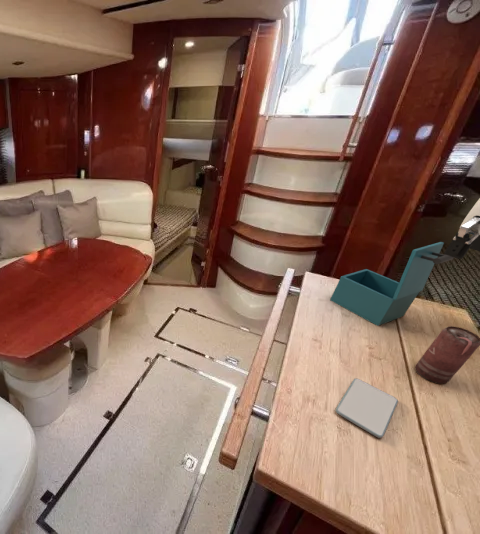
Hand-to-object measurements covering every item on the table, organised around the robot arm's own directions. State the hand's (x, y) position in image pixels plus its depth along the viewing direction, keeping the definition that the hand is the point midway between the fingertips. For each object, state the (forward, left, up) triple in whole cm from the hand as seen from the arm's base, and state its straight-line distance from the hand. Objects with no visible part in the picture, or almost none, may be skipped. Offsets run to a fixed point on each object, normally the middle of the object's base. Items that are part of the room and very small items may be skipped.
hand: (464, 253), depth 76 cm
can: (+12, +11, -28) cm, 32 cm away
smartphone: (+37, +11, -28) cm, 47 cm away
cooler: (-3, -13, -28) cm, 31 cm away
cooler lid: (-3, -7, -10) cm, 12 cm away
